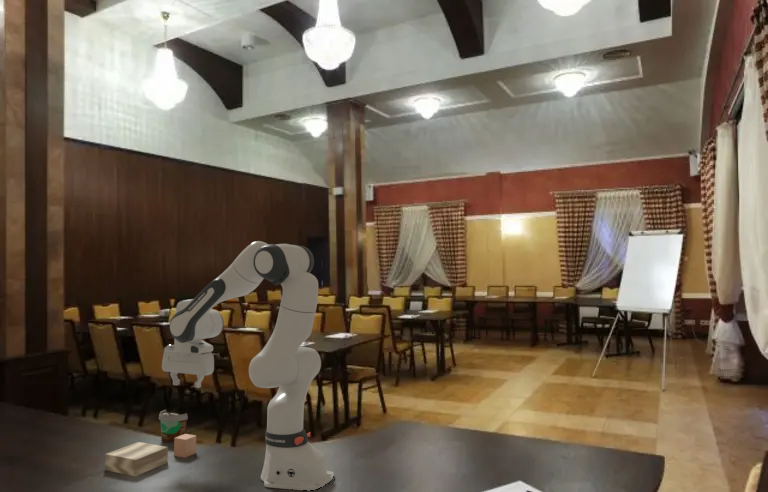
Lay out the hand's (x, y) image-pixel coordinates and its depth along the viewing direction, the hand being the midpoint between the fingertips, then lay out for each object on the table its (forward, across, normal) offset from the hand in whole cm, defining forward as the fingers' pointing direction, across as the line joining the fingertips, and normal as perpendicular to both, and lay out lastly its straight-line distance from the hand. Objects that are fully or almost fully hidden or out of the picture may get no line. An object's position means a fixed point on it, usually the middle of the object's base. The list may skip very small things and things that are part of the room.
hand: (186, 386), depth 185 cm
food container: (+23, -16, +9) cm, 30 cm away
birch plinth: (+23, -6, -15) cm, 28 cm away
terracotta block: (+23, 0, 0) cm, 23 cm away
